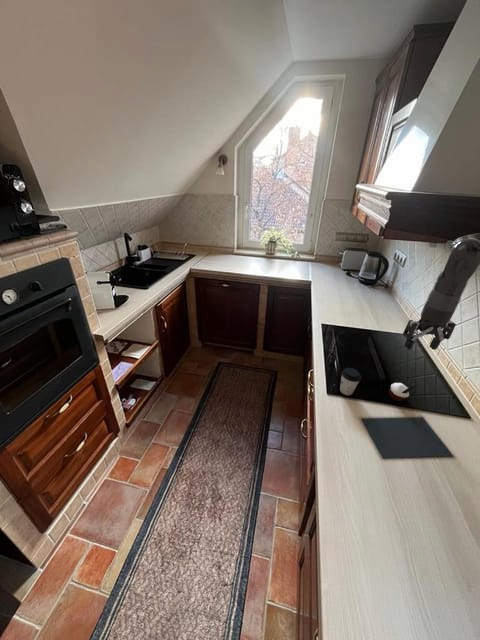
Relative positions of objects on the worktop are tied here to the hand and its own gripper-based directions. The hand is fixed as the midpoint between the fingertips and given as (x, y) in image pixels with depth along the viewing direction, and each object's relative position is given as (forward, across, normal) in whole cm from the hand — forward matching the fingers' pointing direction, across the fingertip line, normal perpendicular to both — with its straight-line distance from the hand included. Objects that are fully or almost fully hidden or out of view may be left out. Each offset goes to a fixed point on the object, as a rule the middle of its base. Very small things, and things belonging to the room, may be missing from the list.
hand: (420, 348), depth 85 cm
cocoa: (+24, 0, 0) cm, 24 cm away
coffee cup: (+24, -18, +4) cm, 30 cm away
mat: (+24, -7, -16) cm, 30 cm away
